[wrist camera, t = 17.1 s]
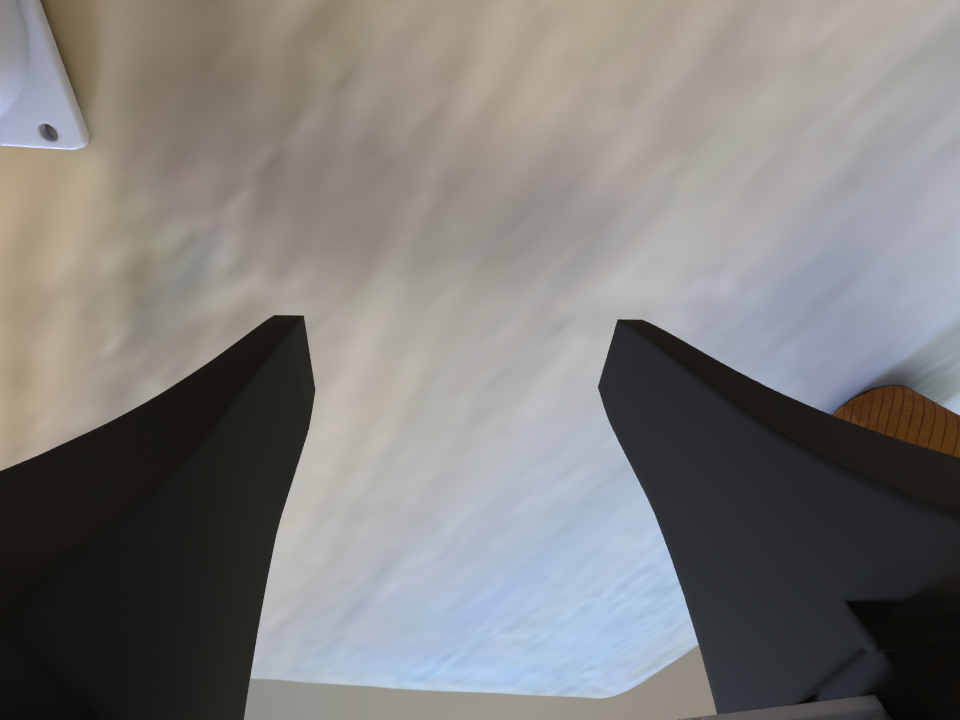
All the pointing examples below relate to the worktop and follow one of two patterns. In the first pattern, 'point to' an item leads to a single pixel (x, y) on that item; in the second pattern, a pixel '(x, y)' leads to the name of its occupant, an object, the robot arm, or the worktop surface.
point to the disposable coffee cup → (905, 418)
